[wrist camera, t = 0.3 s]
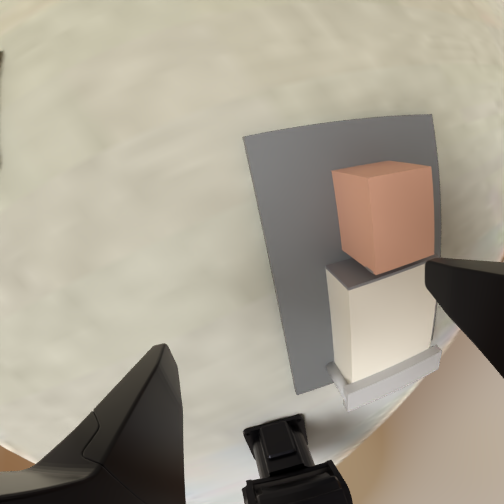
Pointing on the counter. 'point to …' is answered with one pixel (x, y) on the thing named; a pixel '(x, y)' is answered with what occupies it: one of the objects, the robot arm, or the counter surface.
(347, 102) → the counter surface
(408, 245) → the stub
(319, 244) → the grey flat tray
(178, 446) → the robot arm
